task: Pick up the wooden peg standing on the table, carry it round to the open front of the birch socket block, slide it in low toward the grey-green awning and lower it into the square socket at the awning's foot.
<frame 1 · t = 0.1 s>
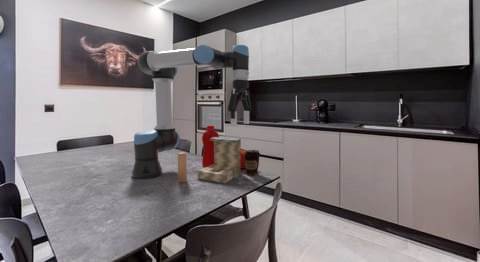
hand: (240, 124, 113), 28 cm above the table, fingers open, 13 cm apart
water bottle: (209, 166, 144), on the table
peg: (182, 181, 115), on the table
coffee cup: (252, 174, 127), on the table
socket awning: (220, 175, 124), on the table
tomato: (239, 168, 140), on the table
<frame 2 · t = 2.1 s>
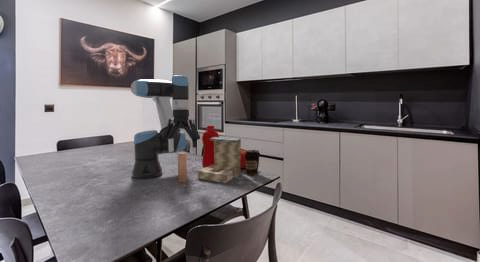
hand: (182, 153, 113), 14 cm above the table, fingers open, 13 cm apart
nothing on the table moved.
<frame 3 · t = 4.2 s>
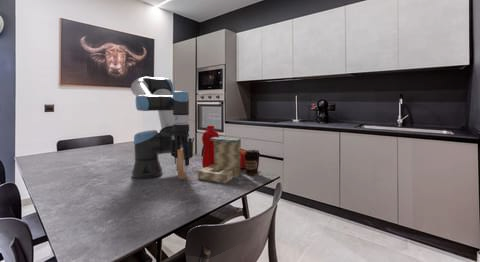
hand: (182, 171, 115), 5 cm above the table, fingers closed on peg, 4 cm apart
peg: (182, 177, 116), point 2 cm above the table, touching gripper
everything else where it was.
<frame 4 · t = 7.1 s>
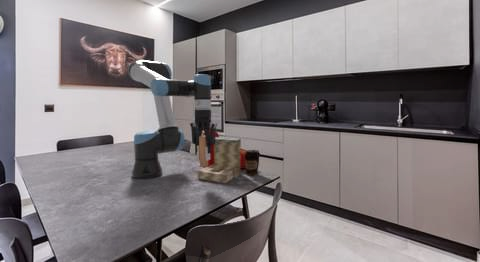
hand: (203, 159, 109), 12 cm above the table, fingers closed on peg, 4 cm apart
peg: (204, 165, 110), point 9 cm above the table, touching gripper
everything else where it was.
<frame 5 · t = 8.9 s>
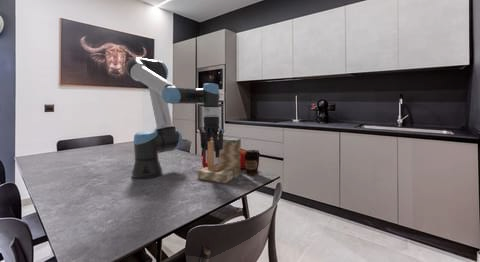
hand: (211, 163, 116), 9 cm above the table, fingers closed on peg, 4 cm apart
peg: (211, 169, 116), point 6 cm above the table, touching gripper
everything else where it was.
when the fingers open (6 cm above the table, at t = 10.6 s): peg drops 2 cm, resting in socket awning.
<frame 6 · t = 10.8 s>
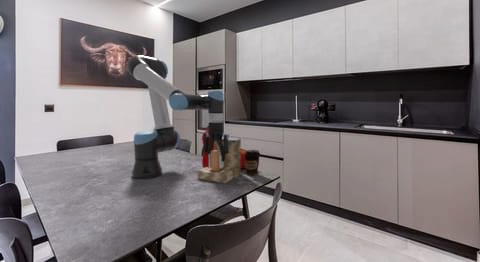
hand: (216, 166, 120), 6 cm above the table, fingers open, 6 cm apart
peg: (215, 177, 121), resting in socket awning, touching gripper
everything else where it was.
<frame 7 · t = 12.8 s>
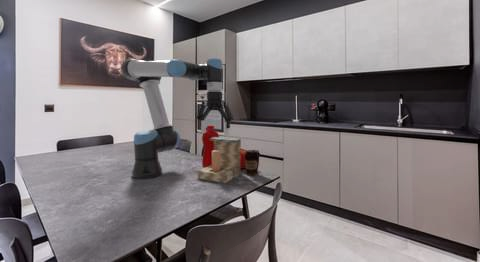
hand: (214, 134, 118), 23 cm above the table, fingers open, 13 cm apart
peg: (215, 177, 121), resting in socket awning
everything else where it was.
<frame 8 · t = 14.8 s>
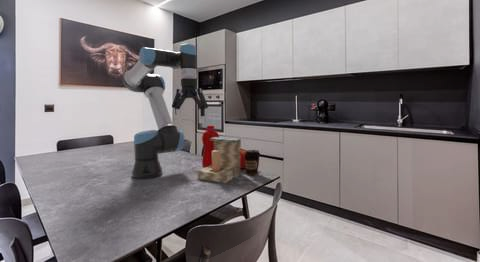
hand: (189, 122, 115), 29 cm above the table, fingers open, 13 cm apart
nothing on the table moved.
at the end: peg 0.2 cm from the target spot on the socket awning, point 0.0 cm above the socket awning's base; peg tilted 0°; the gripper is holding nothing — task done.
